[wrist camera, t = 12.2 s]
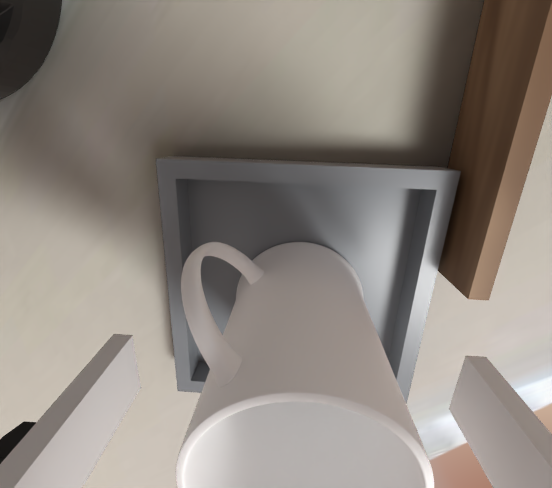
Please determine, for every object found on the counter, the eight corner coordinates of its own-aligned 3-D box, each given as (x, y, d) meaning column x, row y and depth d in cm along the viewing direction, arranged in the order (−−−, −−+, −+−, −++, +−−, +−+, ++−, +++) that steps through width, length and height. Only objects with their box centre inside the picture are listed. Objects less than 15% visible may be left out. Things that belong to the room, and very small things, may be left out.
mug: (184, 240, 20) (34, 375, 9) (297, 170, 18) (297, 227, 7) (278, 368, 23) (260, 595, 12) (383, 320, 21) (486, 537, 10)
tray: (189, 366, 24) (177, 390, 22) (173, 156, 19) (155, 158, 16) (394, 380, 23) (405, 407, 21) (439, 166, 18) (461, 171, 16)
